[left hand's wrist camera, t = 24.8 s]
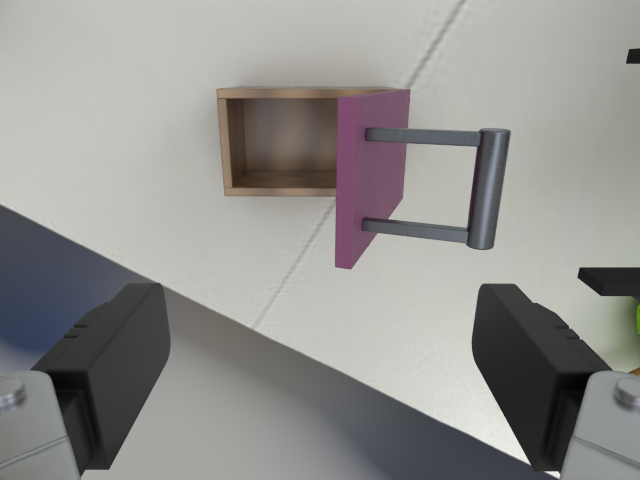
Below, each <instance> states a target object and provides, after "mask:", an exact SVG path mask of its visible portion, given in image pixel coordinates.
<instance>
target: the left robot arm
mask: <svg viewBox="0 0 640 480" xmlns="http://www.w3.org/2000/svg"><path fill="white" fill-rule="evenodd" d="M472 352H473V357H474V360H475V363H476V365H477V367H478V368H479V370H480V372H481V374H482V376H483V378H484V379H485V381H486V383H487V385H488V387H489V389H490V390H491V392H492V394H493V396H494V398H495V400H496V401H497V403H498V405H499V407H500V409H501V411H502V412H503V414H504V416H505V418H506V420H507V422H508V423H509V425H510V427H511V429H512V431H513V433H514V434H515V436H516V438H517V440H518V442H519V444H520V445H521V447H522V449H523V451H524V453H525V455H526V456H527V458H528V460H529V462H530V464H531V466H532V467H533V469H534V471H559V473H560V478H559V480H640V376H637V375H634V374H630V373H626V372H621V371H613V370H612V369H611V368H610V367H609V366H608V365H607V364H606V363H605V362H604V361H603V360H602V359H601V358H600V357H599V356H598V355H597V354H596V353H595V352H594V351H593V350H592V349H591V348H590V347H589V346H588V345H587V344H586V343H585V342H584V341H583V340H580V338H579V336H578V335H577V334H576V333H575V332H574V331H573V330H572V329H569V326H568V325H567V324H566V323H565V322H564V321H563V320H562V319H561V318H560V317H559V316H558V315H557V314H556V313H554V312H552V311H551V310H549V309H547V308H545V307H543V306H542V305H540V304H538V303H533V302H532V301H531V300H530V299H529V298H528V297H527V296H526V295H525V294H524V293H523V292H522V291H521V290H520V289H519V288H518V287H517V286H516V285H515V284H482V285H481V287H480V289H479V292H478V299H477V306H476V313H475V320H474V327H473V334H472ZM169 353H170V331H169V324H168V317H167V310H166V302H165V295H164V290H163V287H162V285H161V284H160V283H128V284H127V285H126V286H125V287H124V288H123V289H122V290H121V291H120V292H119V293H118V294H117V295H116V296H115V297H114V298H113V299H112V300H111V302H105V303H103V304H102V305H100V306H98V307H96V308H94V309H93V310H91V311H89V312H87V313H86V314H85V315H84V316H83V317H82V318H81V319H80V320H79V321H78V322H77V323H76V324H75V325H74V328H71V329H70V330H69V331H68V332H67V333H66V334H65V335H64V338H63V339H60V340H59V341H58V342H57V343H56V344H55V345H54V346H53V347H52V348H51V349H50V350H49V351H48V352H47V353H46V354H45V355H44V356H43V357H42V358H41V359H40V360H39V361H38V362H37V363H36V364H35V365H34V366H33V367H32V368H31V369H30V370H29V371H19V372H14V373H10V374H7V375H3V376H0V480H81V476H82V474H83V473H84V471H85V470H109V468H110V467H111V465H112V463H113V461H114V459H115V457H116V455H117V454H118V452H119V450H120V448H121V446H122V444H123V442H124V441H125V439H126V437H127V435H128V433H129V431H130V429H131V428H132V426H133V424H134V422H135V420H136V418H137V417H138V415H139V413H140V411H141V409H142V407H143V405H144V403H145V402H146V400H147V398H148V396H149V394H150V392H151V391H152V389H153V387H154V385H155V383H156V381H157V379H158V377H159V376H160V374H161V372H162V370H163V368H164V366H165V365H166V363H167V360H168V357H169Z"/></svg>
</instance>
